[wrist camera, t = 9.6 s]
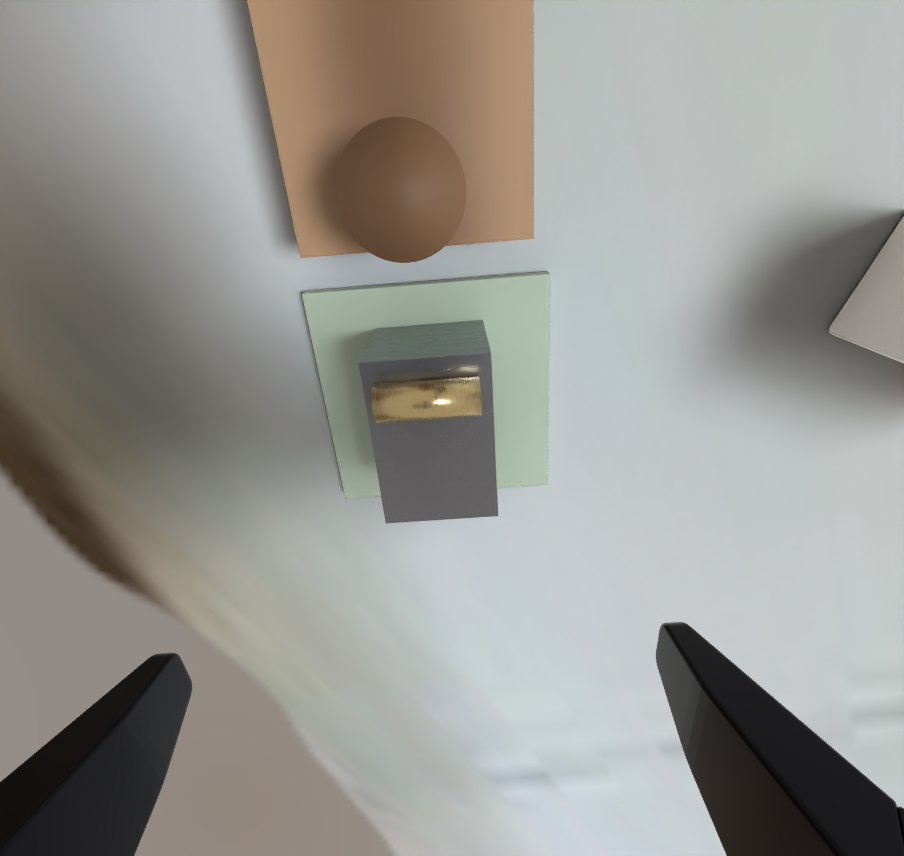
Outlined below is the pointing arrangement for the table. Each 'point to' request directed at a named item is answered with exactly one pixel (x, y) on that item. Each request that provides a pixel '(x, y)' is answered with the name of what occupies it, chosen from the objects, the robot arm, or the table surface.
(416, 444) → the lever cap
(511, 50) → the body
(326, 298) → the mat
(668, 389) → the table surface
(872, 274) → the ink cartridge box
